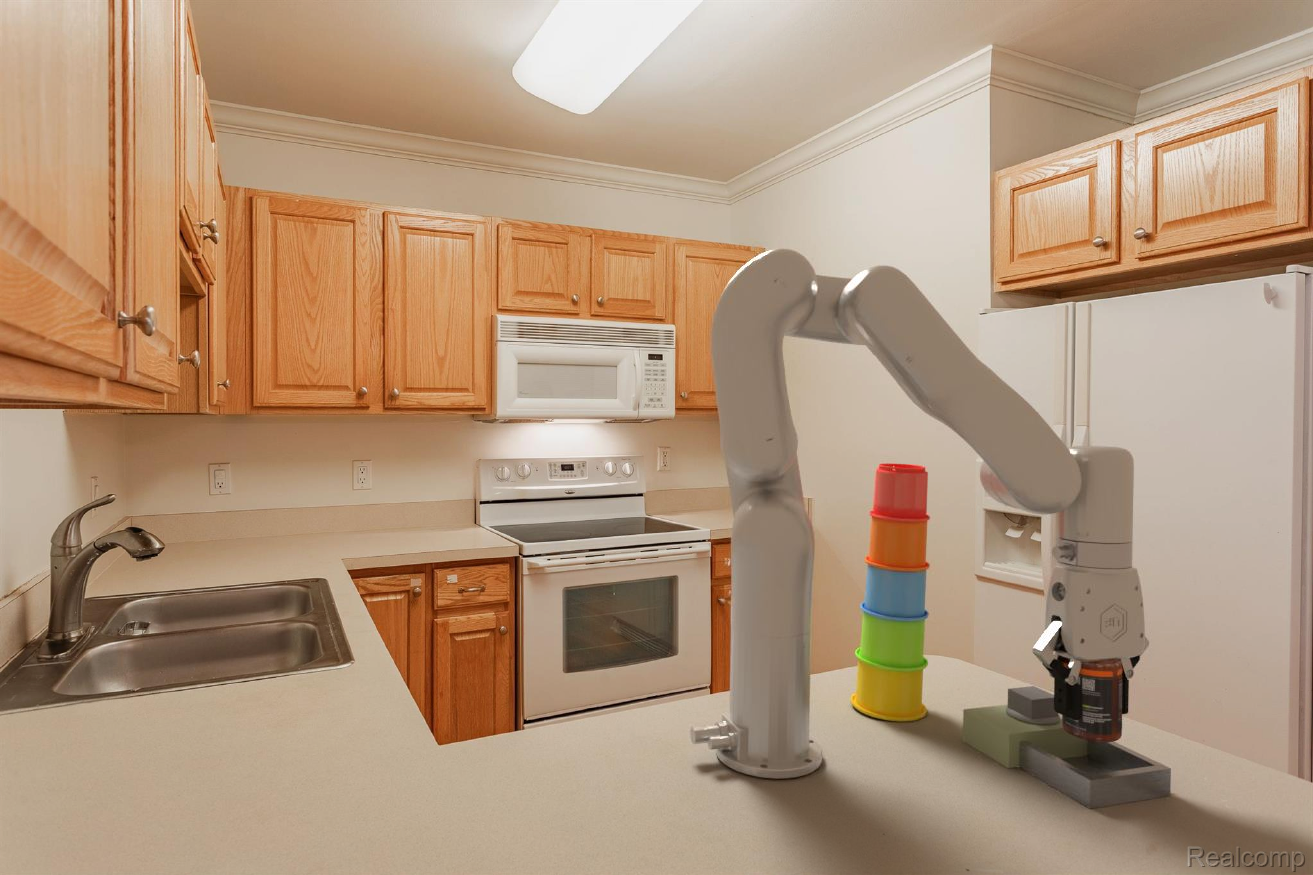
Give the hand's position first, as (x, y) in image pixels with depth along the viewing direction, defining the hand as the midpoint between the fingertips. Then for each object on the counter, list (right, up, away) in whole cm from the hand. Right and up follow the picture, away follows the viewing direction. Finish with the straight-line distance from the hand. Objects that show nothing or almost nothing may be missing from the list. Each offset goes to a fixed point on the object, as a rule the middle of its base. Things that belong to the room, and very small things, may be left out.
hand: (1090, 711), depth 86 cm
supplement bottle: (0, -3, 0) cm, 3 cm away
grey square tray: (0, -8, 0) cm, 8 cm away
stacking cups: (-17, -7, +21) cm, 28 cm away
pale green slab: (-3, -8, +8) cm, 12 cm away
